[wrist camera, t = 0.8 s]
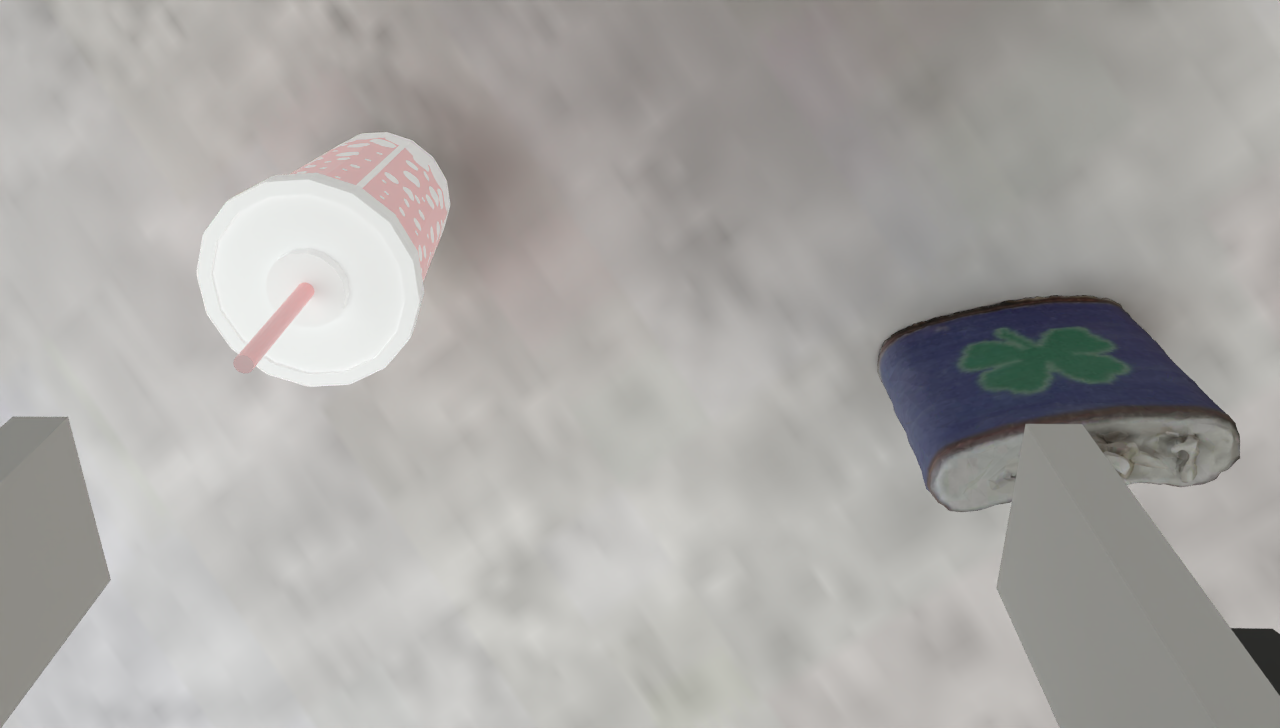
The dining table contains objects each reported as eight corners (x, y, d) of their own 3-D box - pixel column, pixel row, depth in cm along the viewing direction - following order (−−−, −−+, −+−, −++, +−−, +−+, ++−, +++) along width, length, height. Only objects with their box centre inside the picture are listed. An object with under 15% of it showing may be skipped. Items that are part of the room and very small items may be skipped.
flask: (877, 391, 41) (945, 556, 31) (871, 320, 39) (940, 467, 30) (1128, 355, 40) (1280, 512, 30) (1130, 281, 39) (1288, 420, 29)
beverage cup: (270, 227, 38) (76, 406, 26) (338, 75, 36) (161, 188, 23) (426, 308, 40) (314, 517, 27) (502, 165, 37) (418, 320, 25)
